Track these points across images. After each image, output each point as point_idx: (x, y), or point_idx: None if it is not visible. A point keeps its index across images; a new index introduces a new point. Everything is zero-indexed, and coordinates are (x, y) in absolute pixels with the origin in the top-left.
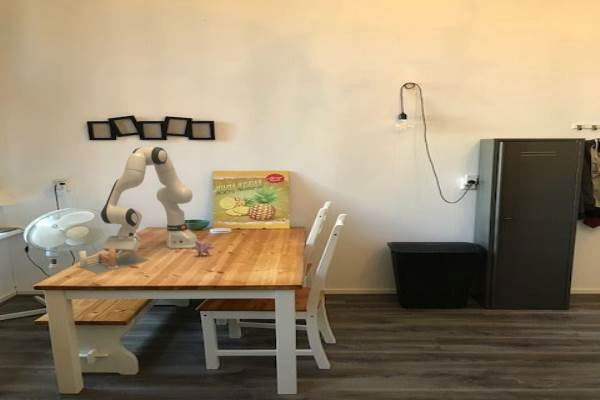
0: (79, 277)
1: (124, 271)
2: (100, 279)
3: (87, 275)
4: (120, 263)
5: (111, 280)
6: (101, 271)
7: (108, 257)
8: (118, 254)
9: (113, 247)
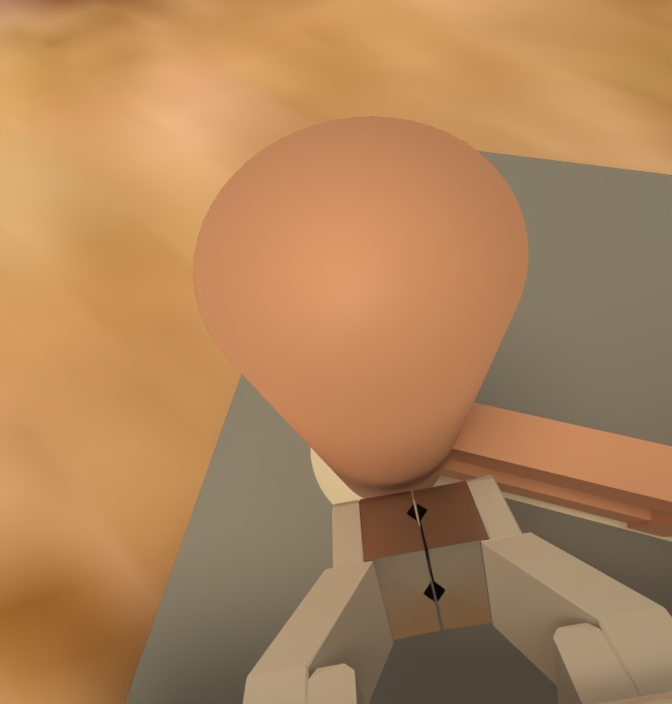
0: (445, 13)
1: (56, 366)
2: (146, 70)
3: (423, 81)
4: (453, 701)
5: (6, 98)
6: None
7: (603, 449)
8: (321, 583)
9: (353, 358)
